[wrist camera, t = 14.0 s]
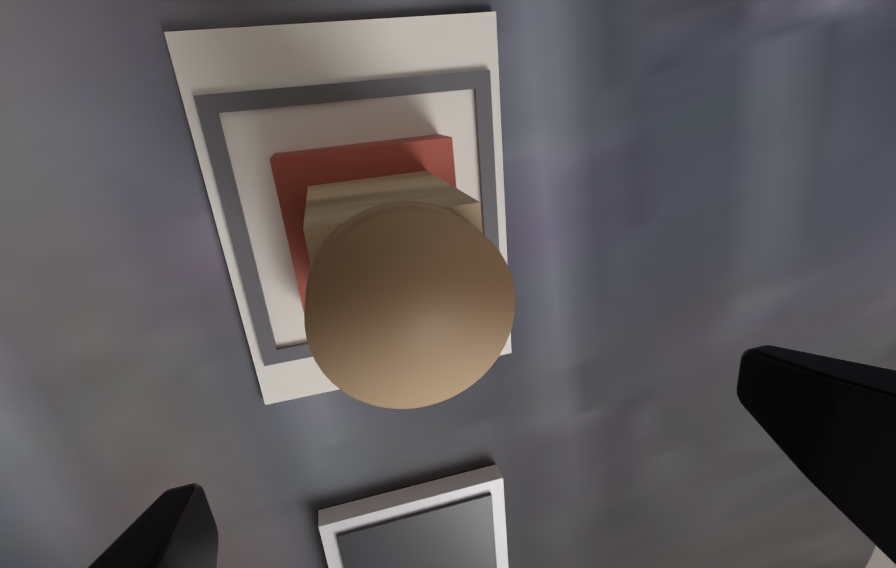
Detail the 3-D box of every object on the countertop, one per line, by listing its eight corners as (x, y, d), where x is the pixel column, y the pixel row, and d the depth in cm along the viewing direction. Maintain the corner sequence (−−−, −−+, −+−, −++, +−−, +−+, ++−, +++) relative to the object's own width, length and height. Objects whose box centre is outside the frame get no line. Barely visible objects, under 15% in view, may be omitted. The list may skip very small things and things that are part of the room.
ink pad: (504, 586, 28) (511, 605, 27) (349, 634, 26) (350, 657, 25) (496, 464, 25) (504, 480, 24) (318, 510, 23) (318, 530, 22)
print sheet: (509, 349, 23) (512, 354, 22) (265, 401, 21) (264, 407, 20) (493, 12, 18) (497, 10, 17) (166, 33, 15) (161, 31, 15)
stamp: (452, 281, 20) (546, 402, 12) (308, 307, 19) (300, 461, 11) (438, 134, 18) (541, 157, 10) (274, 153, 17) (233, 198, 9)
